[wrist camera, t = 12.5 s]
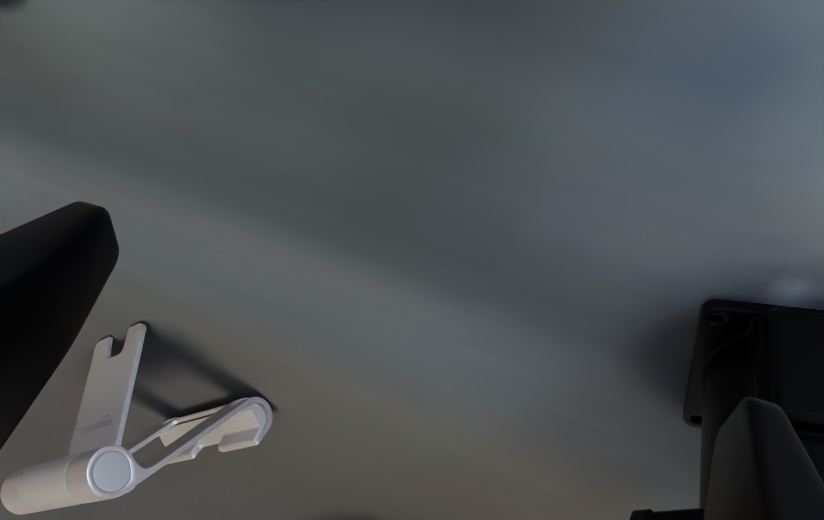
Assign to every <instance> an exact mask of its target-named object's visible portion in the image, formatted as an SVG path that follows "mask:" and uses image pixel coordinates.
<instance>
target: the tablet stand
mask: <svg viewBox="0 0 824 520" xmlns="http://www.w3.org/2000/svg"><path fill="white" fill-rule="evenodd" d="M145 332H146V326H145V325H144V324H142V323H138V324H136V325H134V326H132V327H130V328H129V330H128V333H127V336H126V340H125V344H124V347H123V350H122V351H121V353H120V354H119V355H116V356H114V357H111V358H110V355H111V347H112V342H113V338H112V337H107V338H105V339H103V340H101V341H99V342H98V343H97V345H96V347H95V349H94V353H93V358H92V362H91V366H90V370H89V374H88V378H87V382H86V386H85V389H84V393H83V397H82V401H81V405H80V409H79V413H78V417H77V421H76V425H75V428H74V432H73V436H72V440H71V444H70V448H69V452H68V455H67V457H64V458H60V459H56V460H52V461H49V462H45V463H41V464H37V465H34V466H30V467H26V468H22V469H19V470H16V471H14V472H13V473H11V474H10V475H9V476H8V477H7V478H6V479H5V481H4V483H3V484H2V487H1V494H0V496H1V501H2V503H3V505H4V506H5V508H6V509H7V510H9V511H10V512H12V513H14V514H29V513H34V512H40V511H45V510H50V509H56V508H62V507H67V506H73V505H79V504H84V503H91V502H97V501H102V500H108V499H113V498H117V497H120V496H121V495H123V494H125V493H128V492H130V491H131V490H133V489H134V488H135V487H134V486H136V485H137V484H139V483H140V482H142V481H143V480H144V479H146V478H147V477H149V476H150V475H152V474H153V473H154V472H156V471H157V470H159V469H160V468H162V467H163V466H164V465H166V464H171V463H176V462H180V461H185V460H190V459H194V458H195V457H196V455H197V454H198V453H199V452H200V450H201V449H202V448H203V447H206V446H210V445H215V444H219V445H218V450H219V451H222V452H227V451H232V450H236V449H241V448H246V447H250V446H255V445H258V444H259V443H260V441H261V440H262V438H263V437H264V436H265V434H266V433H267V432H268V430H269V429H270V427H271V424H272V420H273V414H272V410H271V407H270V405H269V404H268V402H267V401H266V400H264V399H263V398H260V397H251V398H242V399H238V400H235V401H232V402H231V403H229V404H226V405H223V406H219V407H216V408H212V409H208V410H205V411H201V412H198V413H194V414H191V415H187V416H183V417H175V418H171V419H168V420H165V421H163V422H162V423H159V424H157V425H155V426H154V427H152V428H151V429H149V430H148V431H146V432H145V433H143V434H142V435H140V436H138V437H137V438H135V439H134V440H132V441H131V442H129V443H128V444H126V445H125V446H123V447H120V446H121V441H122V437H123V432H124V428H125V424H126V419H127V415H128V410H129V406H130V401H131V397H132V392H133V388H134V383H135V379H136V374H137V370H138V365H139V361H140V356H141V352H142V347H143V342H144V337H145ZM158 436H160V438H161V440H162V442H163V444H164V446H165V448H164V449H162V450H161V451H159V452H158V453H156V454H155V455H153V456H152V457H151V458H149V459H148V460H146V461H145V462H143V463H142V464H140V465H138V464H137V462H136V461H135V459H134V458H133V456H132V455H131V454H132V453H134V452H135V451H137V450H138V449H140V448H141V447H143V446H144V445H146V444H147V443H149V442H150V441H152V440H153V439H155V438H156V437H158Z"/></svg>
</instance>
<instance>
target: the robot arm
mask: <svg viewBox="0 0 824 520" xmlns="http://www.w3.org/2000/svg"><path fill="white" fill-rule="evenodd" d="M118 255H119V246H118V242H117V239H116V235H115V232H114V228H113V225H112V221H111V218H110V215H109V213H108V211H107V210H106V209H105V208H103V207H100V206H96V205H93V204H90V203H86V202H74V203H72V204H69V205H67V206H65V207H62V208H60V209H58V210H55V211H53V212H51V213H49V214H46V215H44V216H42V217H39V218H37V219H35V220H33V221H30V222H28V223H26V224H23V225H21V226H19V227H16V228H14V229H12V230H10V231H7V232H5V233H3V234H0V450H1V448H2V447H3V445H4V444H5V442H6V441H7V439H8V438H9V436H10V435H11V434H12V432H13V431H14V429H15V428H16V426H17V425H18V423H19V422H20V421H21V419H22V418H23V416H24V415H25V413H26V412H27V410H28V409H29V408H30V406H31V405H32V403H33V402H34V400H35V399H36V397H37V396H38V394H39V393H40V392H41V390H42V389H43V387H44V386H45V384H46V383H47V381H48V380H49V379H50V377H51V376H52V374H53V373H54V371H55V370H56V368H57V367H58V366H59V364H60V363H61V361H62V360H63V358H64V357H65V355H66V353H67V352H68V350H69V349H70V347H71V346H72V344H73V342H74V340H75V339H76V337H77V335H78V333H79V332H80V330H81V328H82V326H83V324H84V322H85V320H86V319H87V317H88V315H89V313H90V311H91V309H92V307H93V306H94V304H95V302H96V300H97V298H98V296H99V294H100V293H101V291H102V289H103V287H104V285H105V283H106V281H107V280H108V278H109V276H110V274H111V272H112V270H113V268H114V267H115V265H116V262H117V259H118ZM716 313H718V314H722V315H712V314H716ZM683 419H684V421H685V422H686V423H687V424H688V425H690V426H693V427H698V428H702V434H701V471H700V508H697V509H684V510H671V511H658V512H653V511H652V510H651V509H646V510H634V511H633V512H632V514H631V517H630V520H824V310H816V309H806V308H797V307H787V306H778V305H768V304H759V303H749V302H739V301H730V300H720V299H713V300H709V301H706V302H705V303H704V304H702V306H701V309H700V314H699V320H698V326H697V332H696V338H695V344H694V350H693V356H692V361H691V367H690V373H689V379H688V385H687V391H686V397H685V403H684V409H683Z"/></svg>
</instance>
